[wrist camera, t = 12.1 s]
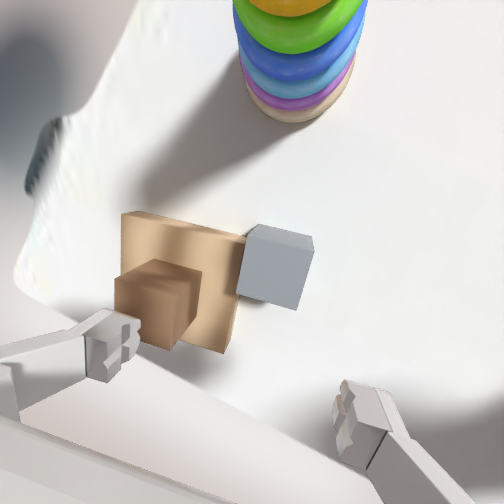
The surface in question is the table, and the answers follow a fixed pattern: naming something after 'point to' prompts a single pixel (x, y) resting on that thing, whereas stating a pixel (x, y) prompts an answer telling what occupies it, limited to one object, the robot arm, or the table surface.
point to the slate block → (275, 266)
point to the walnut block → (159, 300)
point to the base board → (195, 257)
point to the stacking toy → (297, 53)
